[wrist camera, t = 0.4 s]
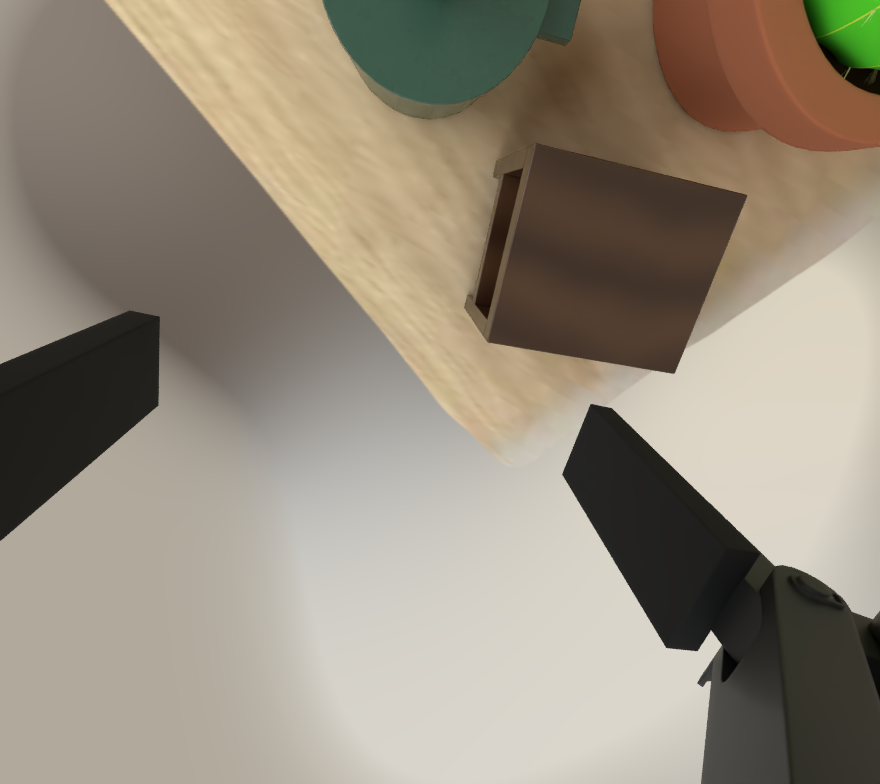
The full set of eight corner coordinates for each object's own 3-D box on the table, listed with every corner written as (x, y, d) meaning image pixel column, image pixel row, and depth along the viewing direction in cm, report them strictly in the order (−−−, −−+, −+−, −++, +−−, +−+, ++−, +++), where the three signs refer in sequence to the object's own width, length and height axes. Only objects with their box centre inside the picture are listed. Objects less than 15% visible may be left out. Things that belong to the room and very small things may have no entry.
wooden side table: (496, 160, 36) (535, 142, 26) (654, 198, 38) (748, 195, 28) (464, 308, 40) (487, 342, 30) (608, 334, 42) (674, 374, 32)
